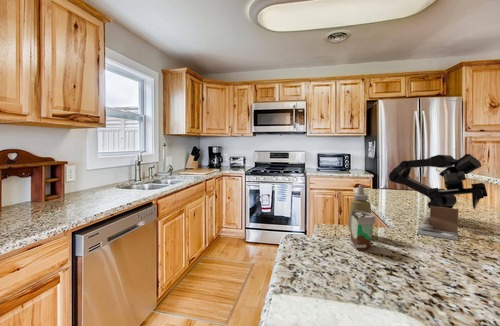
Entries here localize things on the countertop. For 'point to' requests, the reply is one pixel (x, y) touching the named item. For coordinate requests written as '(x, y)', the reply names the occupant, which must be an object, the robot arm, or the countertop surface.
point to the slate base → (439, 234)
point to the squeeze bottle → (359, 204)
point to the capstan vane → (441, 220)
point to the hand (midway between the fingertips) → (458, 209)
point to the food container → (361, 229)
